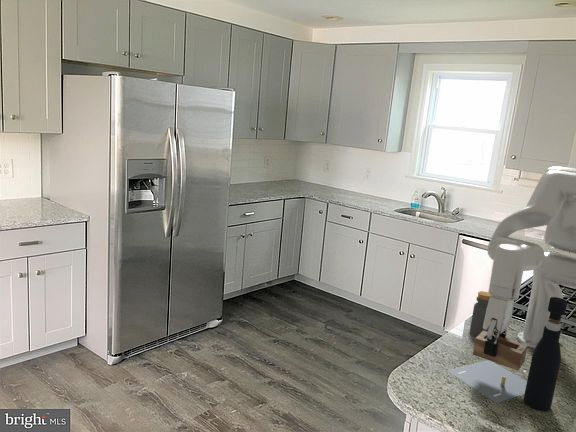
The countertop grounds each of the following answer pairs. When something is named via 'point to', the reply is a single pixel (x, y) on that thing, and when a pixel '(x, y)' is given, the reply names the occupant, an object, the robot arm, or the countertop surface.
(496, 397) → the board
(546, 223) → the robot arm
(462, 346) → the countertop surface
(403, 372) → the countertop surface
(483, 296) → the bottle
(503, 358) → the frame
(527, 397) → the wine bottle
